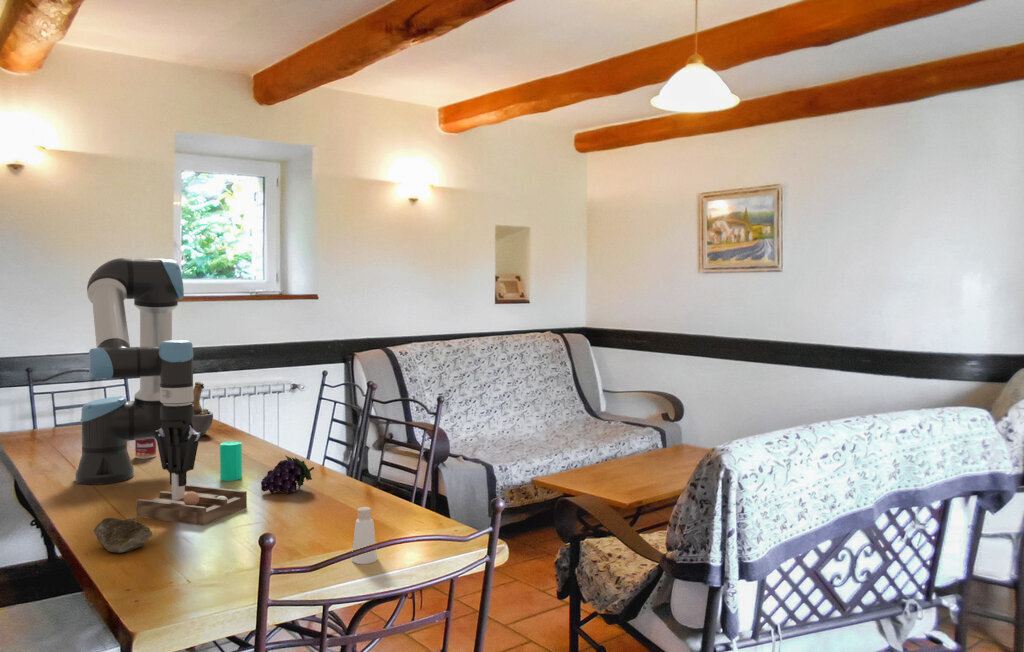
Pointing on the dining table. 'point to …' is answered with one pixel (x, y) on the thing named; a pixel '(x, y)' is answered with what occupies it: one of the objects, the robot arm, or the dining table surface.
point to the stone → (121, 534)
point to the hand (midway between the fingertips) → (178, 498)
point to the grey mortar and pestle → (200, 412)
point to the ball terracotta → (191, 498)
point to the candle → (230, 461)
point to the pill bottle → (145, 448)
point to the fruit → (286, 476)
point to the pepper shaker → (364, 536)
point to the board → (198, 514)
